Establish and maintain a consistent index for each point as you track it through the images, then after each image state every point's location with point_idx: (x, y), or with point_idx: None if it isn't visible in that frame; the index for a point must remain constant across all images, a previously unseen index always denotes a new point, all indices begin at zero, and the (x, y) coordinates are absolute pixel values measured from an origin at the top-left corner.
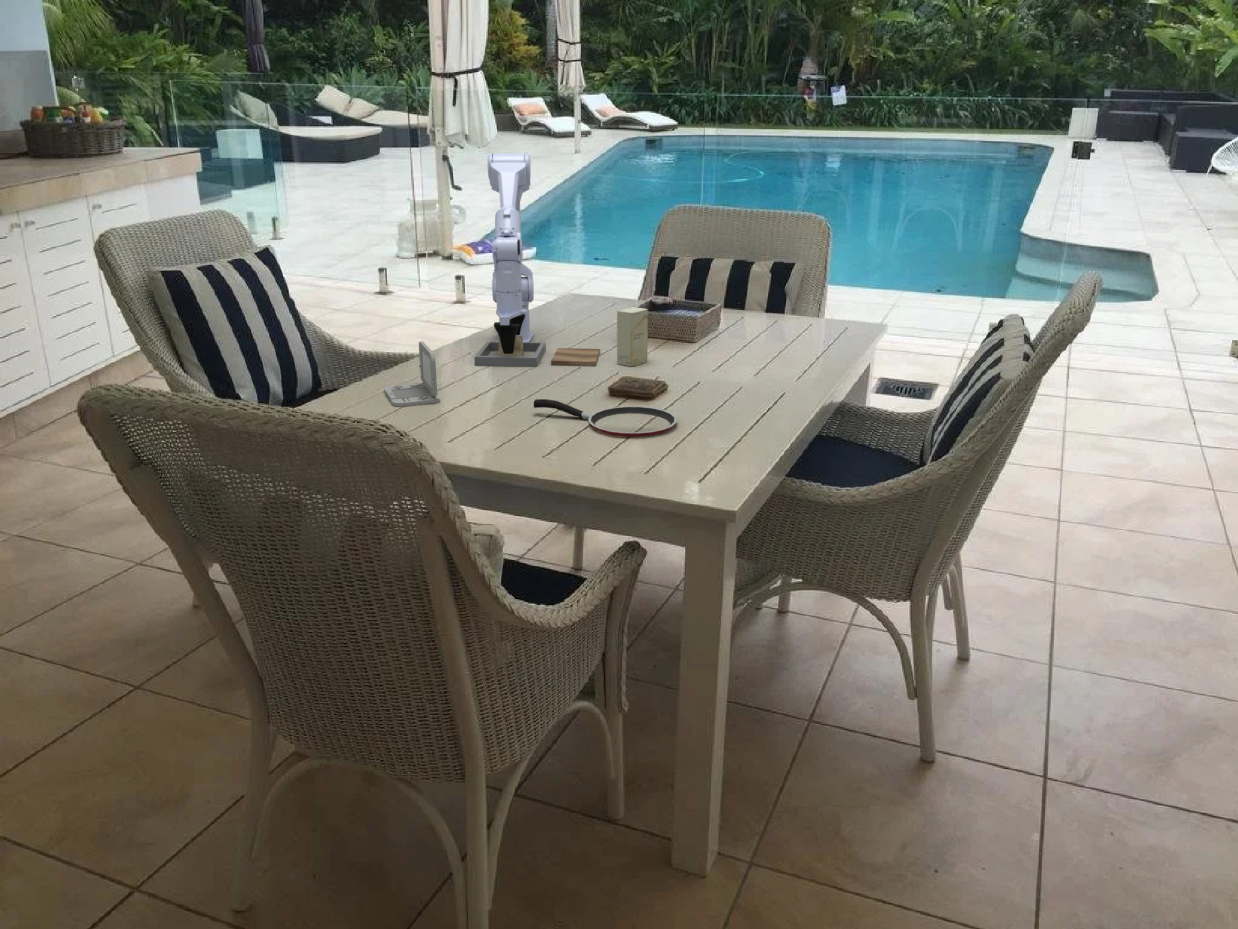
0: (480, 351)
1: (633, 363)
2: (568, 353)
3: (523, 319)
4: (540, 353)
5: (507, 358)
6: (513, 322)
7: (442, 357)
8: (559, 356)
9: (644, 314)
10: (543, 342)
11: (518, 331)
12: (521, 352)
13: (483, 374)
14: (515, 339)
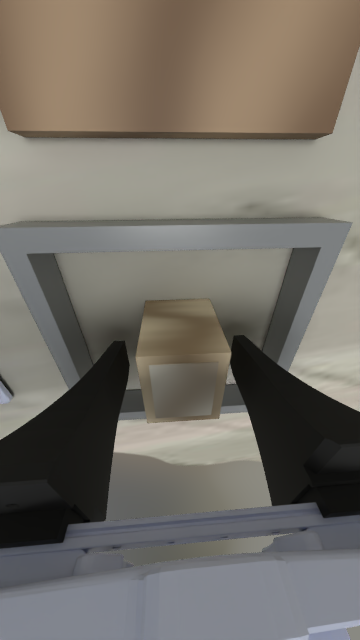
0: None
1: None
2: None
3: (66, 448)
4: (209, 223)
5: (298, 338)
6: (96, 456)
7: (184, 442)
8: (232, 75)
9: None
10: (2, 240)
11: (103, 388)
12: (188, 311)
13: (354, 359)
14: (228, 367)
